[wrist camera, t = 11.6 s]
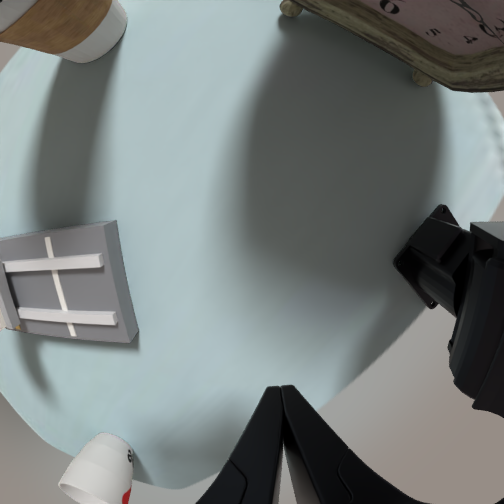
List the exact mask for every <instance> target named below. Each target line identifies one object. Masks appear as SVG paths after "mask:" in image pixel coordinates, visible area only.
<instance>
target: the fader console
mask: <svg viewBox="0 0 504 504" xmlns="http://www.w3.org/2000/svg"><path fill="white" fill-rule="evenodd" d="M0 260H2V264H3V268H4V272H5V276H6V279H7V283H8V287H9V290H10V293H11V297H12V300H13V303H14V306H15V309H16V312H17V315H18V318H19V320H20V324H19V325H18V326H17V327H15V328H14V329H9V330H15V331H21V332H27V333H33V334H40V335H47V336H55V337H63V338H72V339H82V340H93V341H106V342H121V343H131V341H132V340H133V338H134V337H135V335H136V334H137V332H138V331H139V329H138V325H137V321H136V317H135V313H134V309H133V305H132V301H131V297H130V292H129V288H128V283H127V278H126V274H125V269H124V263H123V258H122V252H121V247H120V241H119V234H118V228H117V221H116V220H114V221H106V222H98V223H91V224H83V225H76V226H70V227H63V228H56V229H50V230H44V231H38V232H32V233H26V234H20V235H14V236H9V237H4V238H0ZM6 329H8V328H6Z"/></svg>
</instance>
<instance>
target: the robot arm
mask: <svg viewBox="0 0 504 504" xmlns="http://www.w3.org/2000/svg"><path fill="white" fill-rule="evenodd" d="M442 209H443V213H442V212H441V211H442ZM399 261H402V262H401V264H400V265H398V263H399ZM393 265H394V267H395V268H396V269H397V270H398V272H399V273H400V274H401V275H402V276H403V277H404V279H405V280H406V281H407V282H408V283H409V285H410V286H411V287H412V288H413V289H414V291H415V292H416V293H417V294H418V296H419V297H420V298H421V299H422V301H423V302H424V303H425V304H426V306H427V307H428V308H430V309H434V308H435V307H436V306H437V305H438V304H440V305H441V306H442V307H444V308H445V309H446V310H447V311H449V312H450V313H451V314H452V315H453V316H454V317H456V318H457V319H456V323H455V327H454V331H453V335H452V338H451V340H450V341H449V344H448V350H449V353H450V357H449V367H450V369H451V371H452V374H453V376H454V381H453V382H454V384H455V385H456V387H457V388H458V389H459V390H460V391H461V392H462V393H464V394H465V395H467V396H468V397H470V398H472V399H474V400H475V401H474V403H473V405H472V408H473V409H477V410H484V411H489V412H492V413H494V414H497V415H499V416H501V417H503V418H504V222H470V231H467V230H465V229H462V228H461V227H460V226H459V225H458V223H457V221H456V220H455V218H454V217H453V215H452V213H451V212H450V210H449V209H448V207H447V206H446V205H443V204H440V205H438V206H437V208H436V209H435V210H434V212H433V213H432V214H431V215H430V217H428V218H427V219H426V220H425V221H424V223H423V224H422V225H421V226H420V228H419V229H418V230H417V231H416V233H415V234H414V235H413V236H412V237H411V239H410V240H409V243H408V244H407V245H406V246H405V247H404V248H403V250H402V251H401V252H400V253H399V254H398V255H397V257H396V258H395V259H394V262H393ZM432 302H433V303H432ZM431 303H432V304H431ZM283 444H284V450H285V455H286V459H287V463H288V468H289V472H290V476H291V480H292V484H293V489H294V493H295V497H296V501H297V504H430V503H424V502H420V501H417V500H415V499H413V498H411V497H409V496H407V495H406V494H404V493H403V492H402V491H400V490H399V489H397V488H396V487H394V486H393V485H392V484H390V483H389V482H388V481H386V480H385V479H383V478H382V477H381V476H379V475H378V474H377V473H376V472H374V471H373V470H372V469H371V468H369V467H368V466H367V465H366V464H365V463H364V462H363V461H362V460H361V459H360V458H358V457H357V455H356V454H355V453H354V452H353V451H352V450H351V449H348V446H347V445H346V444H345V443H344V442H343V441H342V439H341V438H340V437H338V435H337V434H336V433H335V432H334V431H333V430H332V429H331V428H330V427H329V425H328V424H327V423H326V422H325V421H324V420H323V419H322V417H321V416H320V415H319V414H318V413H317V412H316V411H315V410H314V408H313V407H312V406H311V405H310V404H309V403H308V402H307V400H306V399H305V398H304V397H303V396H302V395H301V393H300V392H299V391H298V390H297V389H296V388H295V386H294V385H282V386H281V387H279V386H269V387H267V388H266V390H265V392H264V394H263V396H262V398H261V399H260V401H259V403H258V405H257V407H256V409H255V411H254V413H253V415H252V417H251V419H250V421H249V422H248V424H247V426H246V428H245V430H244V432H243V434H242V435H241V437H240V439H239V441H238V443H237V444H236V446H235V448H234V450H233V452H232V453H231V455H230V457H229V460H227V462H226V463H225V465H224V467H223V469H222V470H221V472H220V473H219V475H218V476H217V478H216V479H215V481H214V482H213V483H212V485H211V486H210V487H209V488H208V490H207V491H206V492H205V493H204V494H203V496H202V497H201V498H200V499H199V500H198V501H197V502H196V504H278V502H279V492H280V482H281V470H282V458H283ZM495 504H504V498H503V499H501V500H500V501H498V502H497V503H495Z"/></svg>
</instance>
